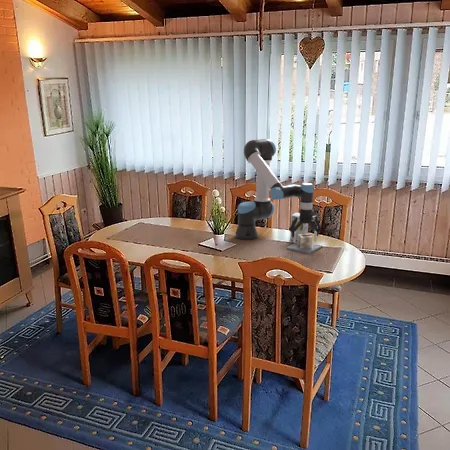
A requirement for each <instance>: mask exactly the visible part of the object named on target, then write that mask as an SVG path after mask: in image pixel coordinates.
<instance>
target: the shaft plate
mask: <svg viewBox="0 0 450 450" xmlns="http://www.w3.org/2000/svg"><path fill="white" fill-rule="evenodd" d="M321 247H322V248H323V245H322V244H318V243H314V242H312V248H300V247H299V246H298V241H295V243H294V242H293V244H290V245H289V246H286V250H289V251H294V252H298V253H301V254H306V255H307V254H308V255H311V254H312V253H314V252H316V251H318V250H320V249H322V248H321Z"/></svg>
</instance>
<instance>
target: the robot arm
mask: <svg viewBox="0 0 450 450" xmlns="http://www.w3.org/2000/svg"><path fill="white" fill-rule="evenodd" d="M276 152H277V147H276V144H275V143H274V141H273V140H272V139H267V138H262V139H252V140H249V141H247V142H246V144H245V145H244V147H243V156H244V158H245V160H246V161H247V162H248V164H251V165H252V166H253V168H254V169H255V171H256V183H255V184H256V188H255V189H256V190H255V191H256V192H255V194H256V196H255V197H254V199H253V201H251V200H250V201H243V202H240V203H239V204H238V207H237V228H236V230H235V234H234V235H235V238H236V239H237V240H238V239H239V240H245V241H246V240H254V239H255V240H256V239H257V238H258V234H259V233H258V230H257V228H256V221H259V220H266V219H268V218H271V217H272V216H273V214H274V213H275V205H274V203H273V201H272V200H275V201H279V200H285V199H290V198H295V197H296V198H298V199H300V201H299V202H300V203H299V205H300V206H299V213H300V216H299V217H296V216H295V218H294V221H293V223H292V225H291V224H290V226H289V228H288V231H289V233H291V232H292V237H293V240H292V242H293V244H294V243H296V241H297V240H296V232H295V231H296V230H297V229H298V227H299V226H300V225H301V224H302V223H303V224H305V223H307V224H308V225H309V224H310V225H311V226H312V227H313V229H314V235H313V236H314V237H313V242H314V243H316V242H317V237H319V232H321V231H322V227H321V225H320V222H319V220H318V216H317V215H313V205H314V204H313V203H314V184H313V183H309V182H303V183H301V184H296V183H288V184H287V185H283V184H282V183H281V182H280V180H279V179H278V178H277V176H276V175H275V174H274V172H273V171H272V170H271V168H270V163H271V162H272V161H273V157H274V156H275V154H276ZM271 199H272V200H271ZM298 219H300V221H299V222H298V224H297V225H296V226H295V224H296V222H297V220H298ZM312 220H314V222H315V224H316V225H315V224H314V222H313V221H312ZM294 226H295V227H294Z"/></svg>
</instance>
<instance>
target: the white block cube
mask: <svg viewBox="0 0 450 450" xmlns="http://www.w3.org/2000/svg"><path fill="white" fill-rule="evenodd" d="M297 242H298V246H299V247H300V248H312V243H313V236H312V235H311V234H310V233H308V234H298V241H297Z"/></svg>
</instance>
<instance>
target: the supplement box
mask: <svg viewBox="0 0 450 450" xmlns="http://www.w3.org/2000/svg"><path fill="white" fill-rule="evenodd" d="M295 216H296V217H299V216H300V212H294V213H293V214H291V217H290V226H291V225H292V223H293V221H294V218H295ZM299 221H300V219H298V220H297V222H296V224H295V226H296V225H297V224H298V222H299ZM295 226H294V227H295ZM295 232H296V240H295V241H296V242H298V234H309V223H308V224H307V223H305V224H303V223H302V224H301V225H300V226H299V227H298V229H297V230H296V231H295ZM289 239H290V240H291V241H293V237H292V232H290V236H289Z"/></svg>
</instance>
